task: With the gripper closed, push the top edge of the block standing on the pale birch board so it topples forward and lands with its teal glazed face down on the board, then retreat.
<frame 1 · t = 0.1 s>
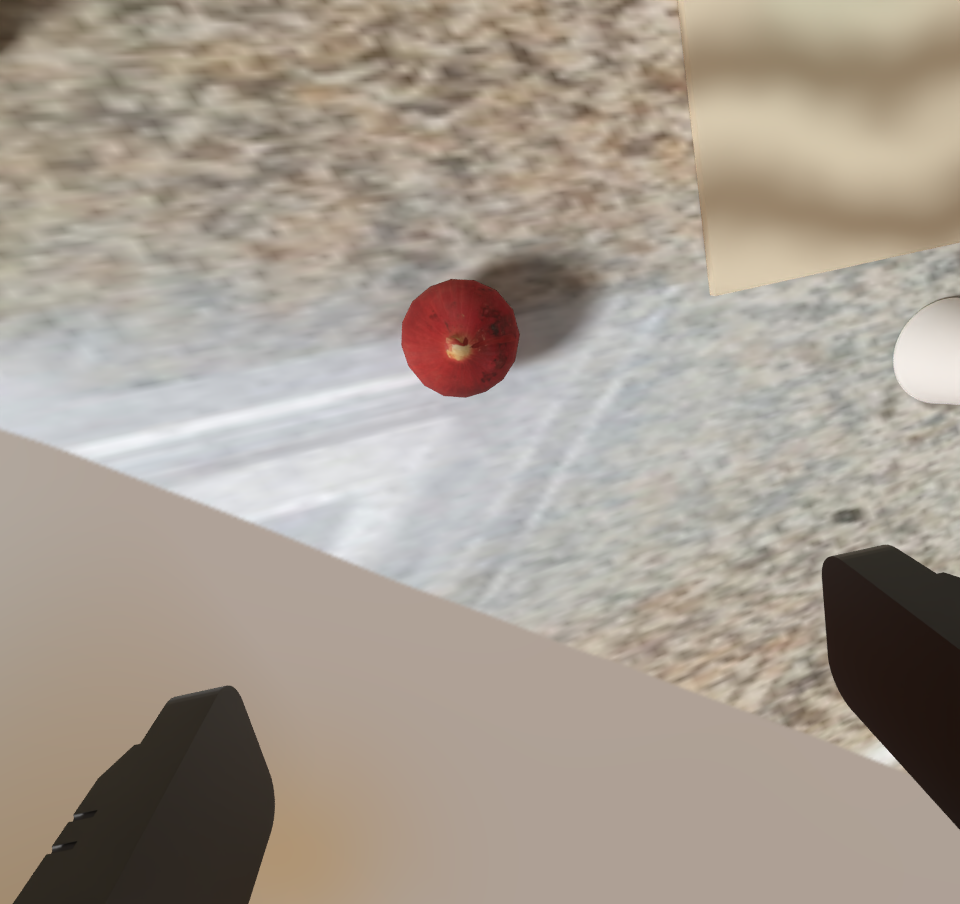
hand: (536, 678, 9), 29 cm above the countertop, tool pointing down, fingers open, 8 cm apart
onion: (459, 331, 37), on the countertop
cosmetic bottle: (940, 350, 38), on the countertop
board: (842, 64, 34), on the countertop
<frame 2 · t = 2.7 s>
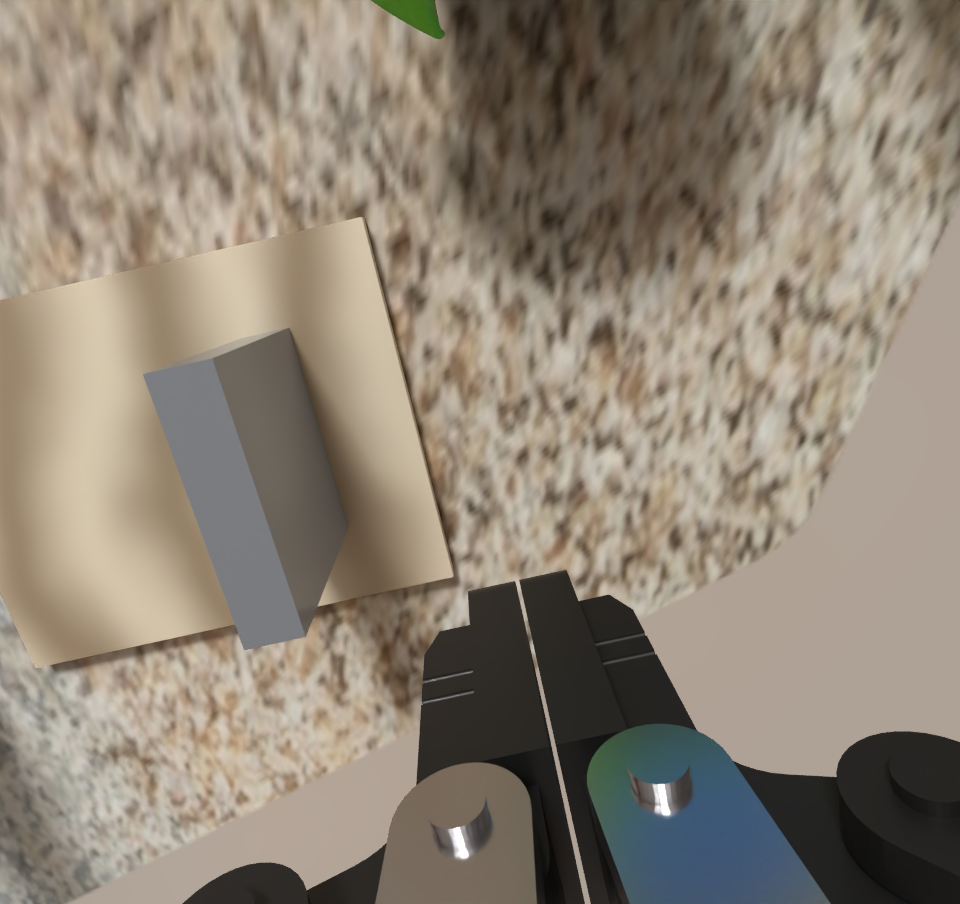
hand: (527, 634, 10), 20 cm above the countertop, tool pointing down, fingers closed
block: (297, 436, 28), point 1 cm above the countertop, touching board
board: (191, 456, 29), on the countertop
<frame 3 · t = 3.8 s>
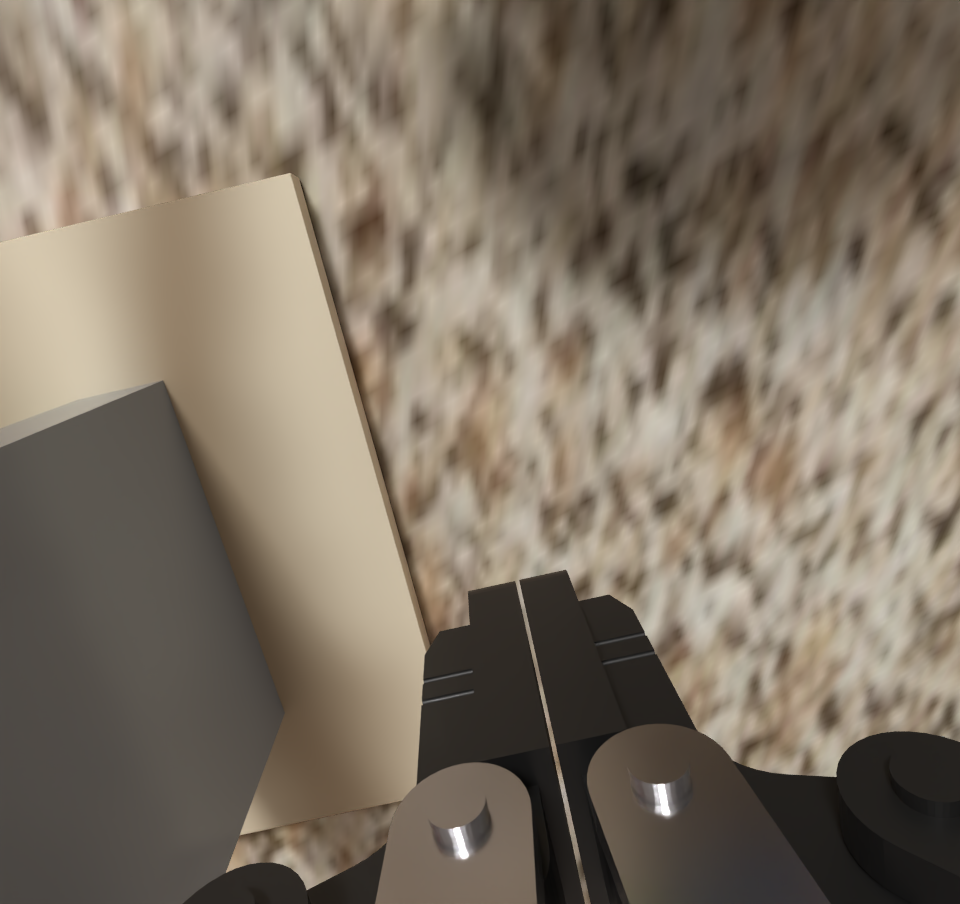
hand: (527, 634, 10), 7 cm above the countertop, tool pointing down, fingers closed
block: (189, 568, 16), point 1 cm above the countertop, touching board
board: (12, 596, 17), on the countertop
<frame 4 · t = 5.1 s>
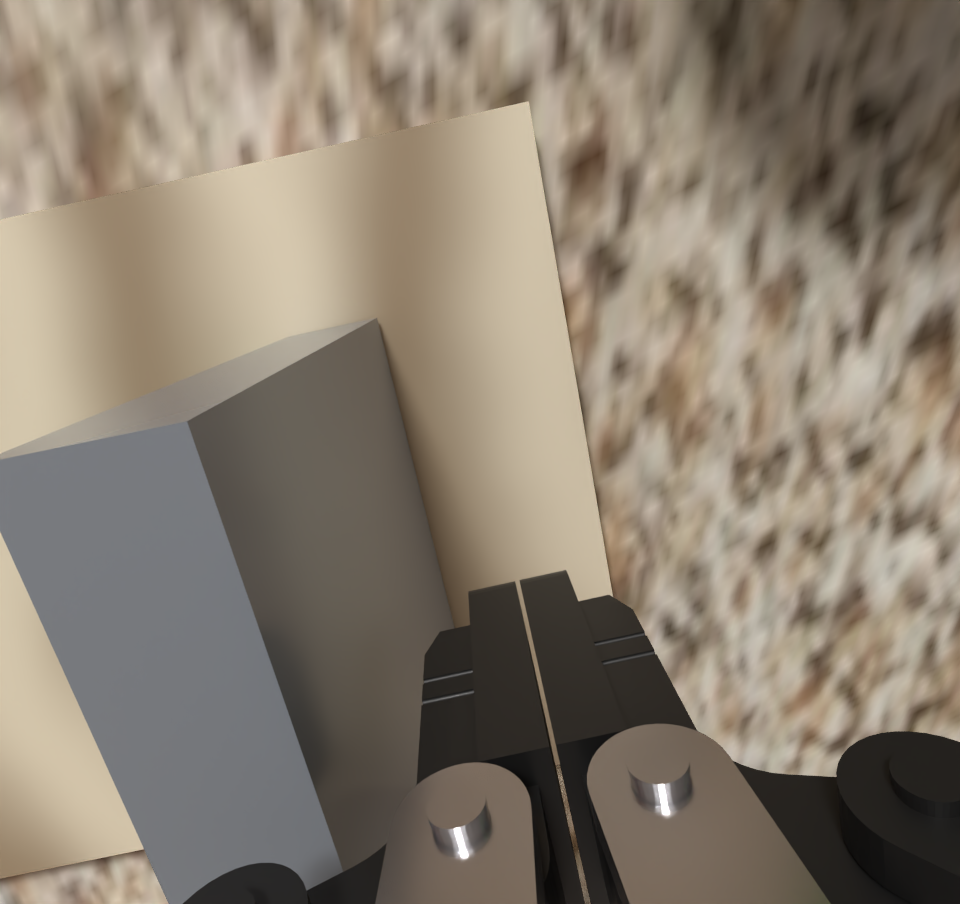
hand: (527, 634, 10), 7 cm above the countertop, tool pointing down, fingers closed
block: (383, 516, 15), point 1 cm above the countertop, touching board, gripper
board: (191, 545, 16), on the countertop
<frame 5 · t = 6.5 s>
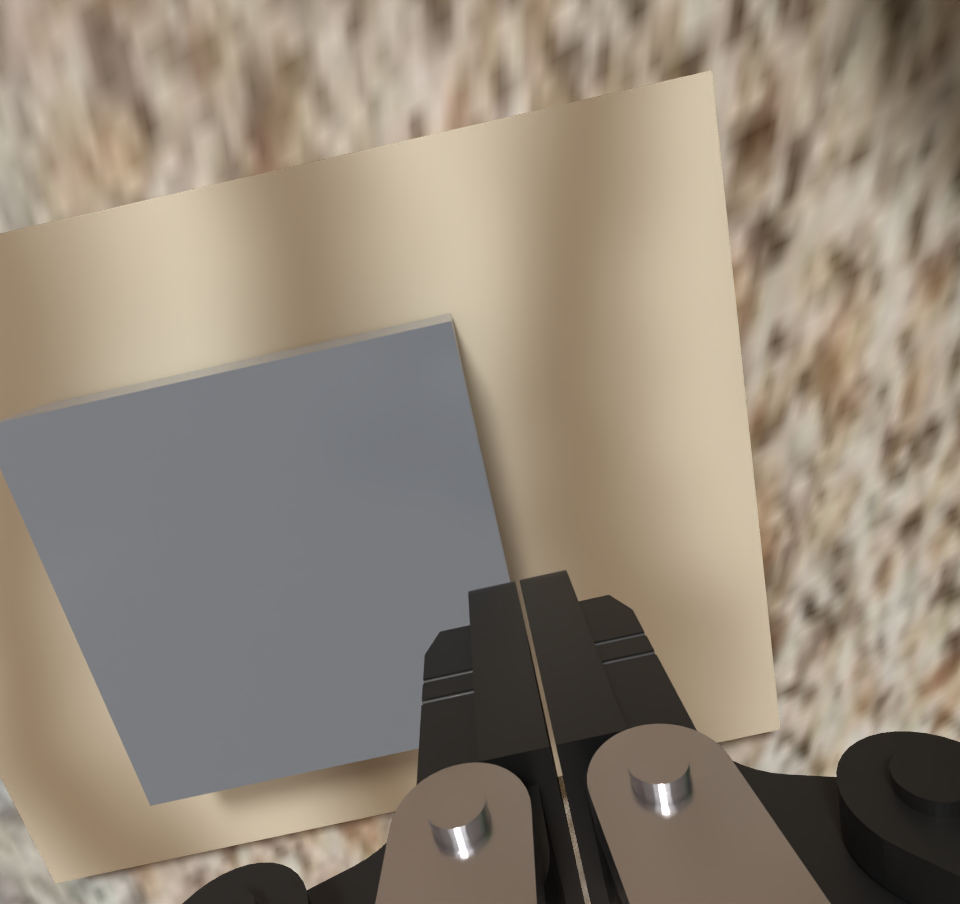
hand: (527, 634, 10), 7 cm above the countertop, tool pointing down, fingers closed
block: (497, 521, 14), point 2 cm above the countertop, tilted 90°, touching board
board: (338, 526, 16), on the countertop
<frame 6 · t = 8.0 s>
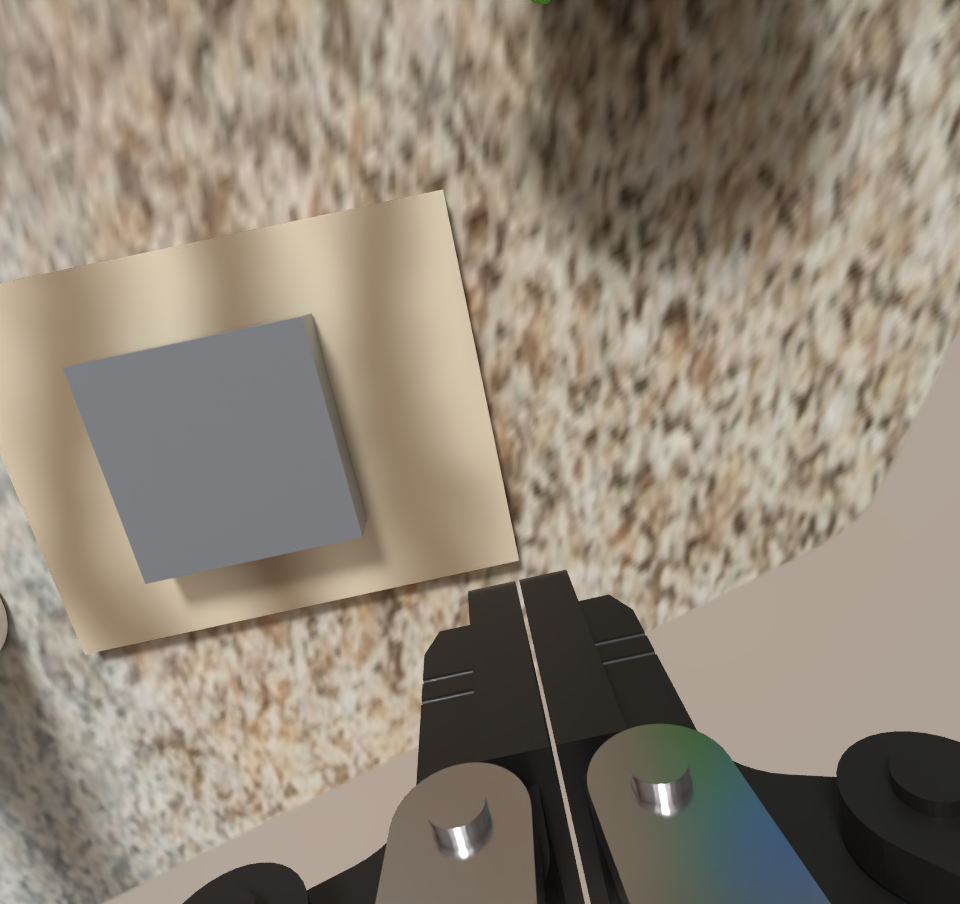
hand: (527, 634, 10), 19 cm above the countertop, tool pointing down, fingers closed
block: (337, 426, 27), point 2 cm above the countertop, tilted 90°, touching board
board: (255, 435, 28), on the countertop
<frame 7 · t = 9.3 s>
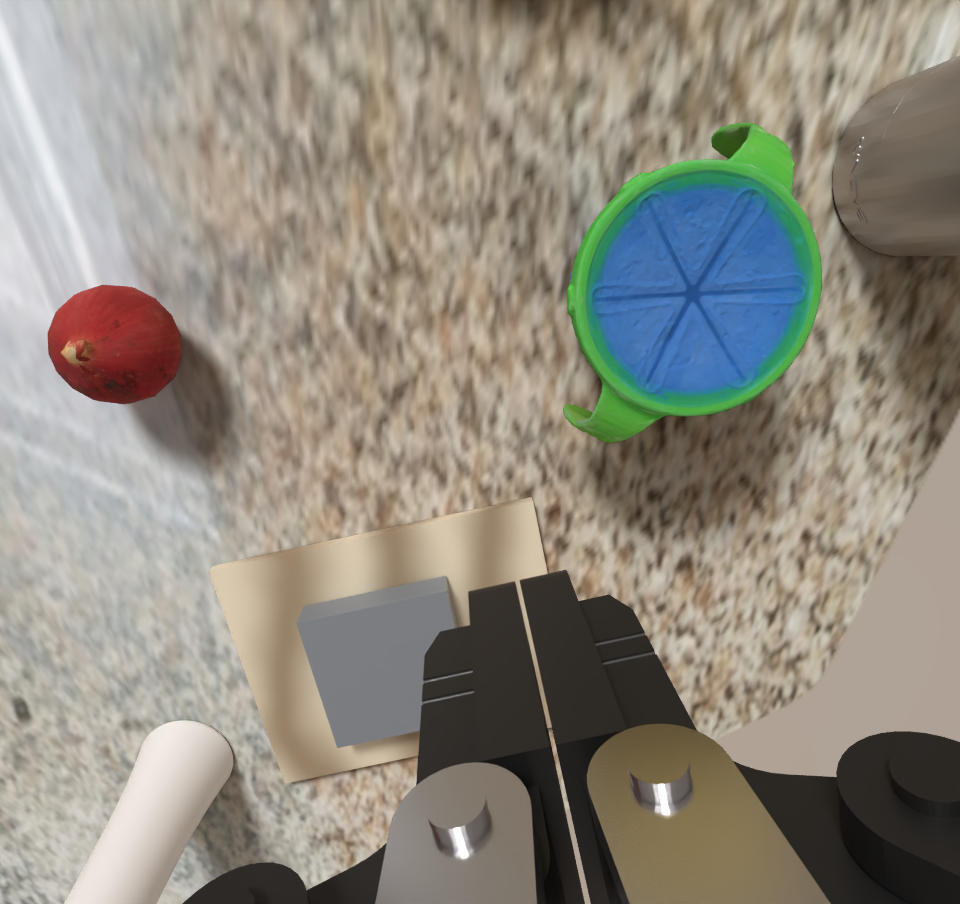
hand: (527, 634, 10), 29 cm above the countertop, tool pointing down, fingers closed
block: (462, 647, 41), point 2 cm above the countertop, tilted 90°, touching board
snack cup: (633, 287, 37), on the countertop
onion: (151, 337, 37), on the countertop
cosmetic bottle: (189, 754, 44), on the countertop
board: (403, 643, 43), on the countertop
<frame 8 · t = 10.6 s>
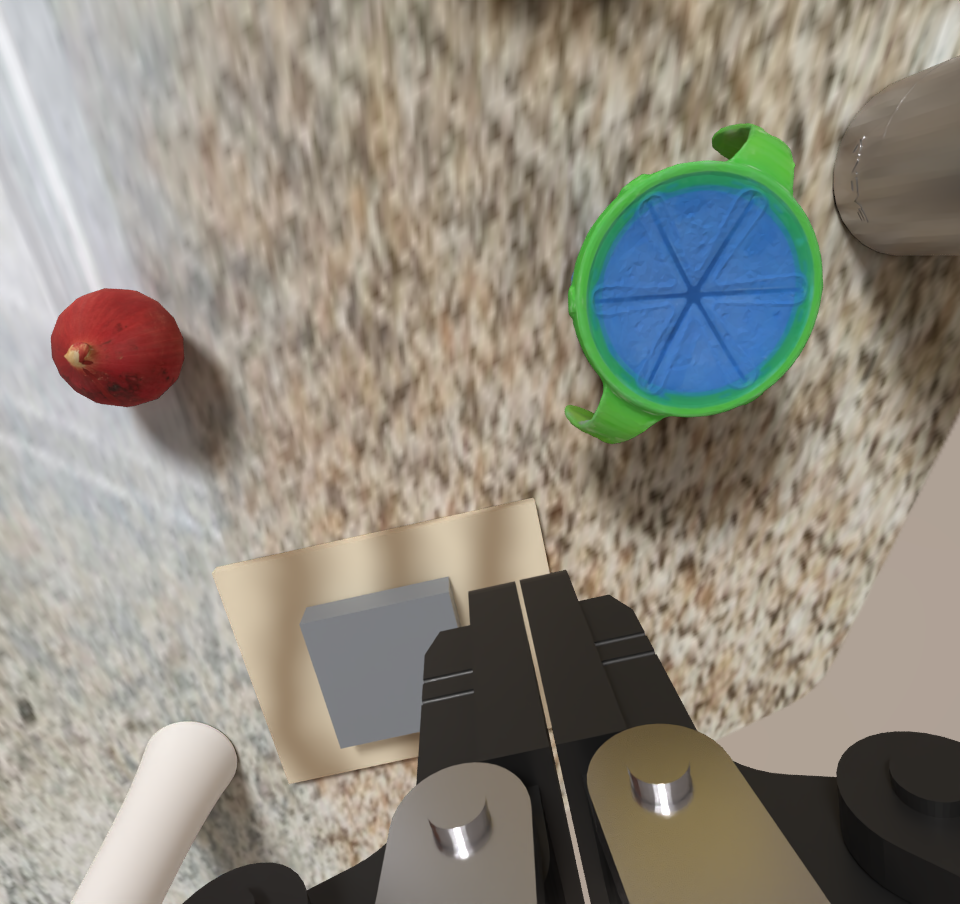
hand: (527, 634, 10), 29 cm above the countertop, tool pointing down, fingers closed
block: (465, 648, 41), point 2 cm above the countertop, tilted 90°, touching board
snack cup: (634, 287, 37), on the countertop
onion: (154, 339, 37), on the countertop
cosmetic bottle: (193, 755, 45), on the countertop
board: (405, 644, 43), on the countertop
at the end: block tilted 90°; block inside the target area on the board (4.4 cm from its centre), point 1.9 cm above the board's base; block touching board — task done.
